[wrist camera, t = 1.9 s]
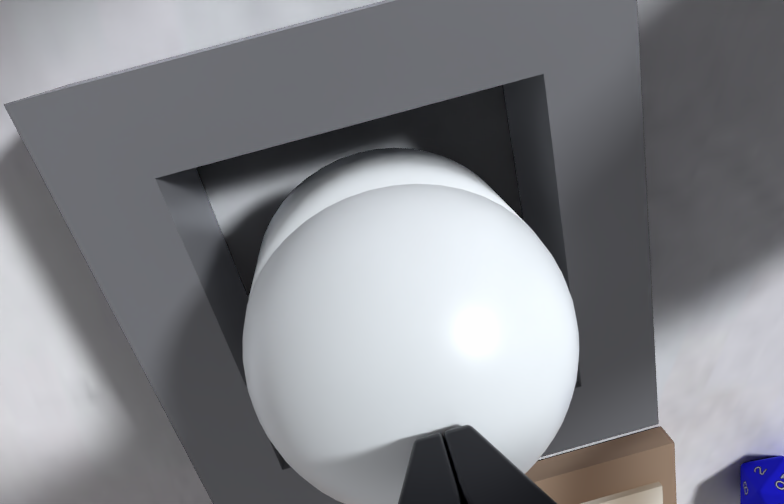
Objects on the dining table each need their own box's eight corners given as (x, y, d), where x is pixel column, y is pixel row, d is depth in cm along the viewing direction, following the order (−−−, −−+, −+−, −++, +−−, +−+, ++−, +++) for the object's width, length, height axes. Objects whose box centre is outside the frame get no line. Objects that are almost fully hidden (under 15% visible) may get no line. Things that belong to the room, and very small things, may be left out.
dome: (492, 111, 13) (640, 197, 7) (529, 341, 15) (659, 542, 10) (219, 185, 13) (137, 336, 7) (303, 403, 15) (297, 646, 9)
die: (772, 423, 21) (865, 484, 19) (745, 455, 22) (827, 513, 21) (735, 473, 19) (831, 542, 18) (710, 502, 21) (794, 568, 20)
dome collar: (567, -49, 13) (634, -63, 10) (606, 361, 18) (658, 423, 15) (69, 84, 13) (3, 104, 10) (246, 462, 18) (234, 543, 15)
